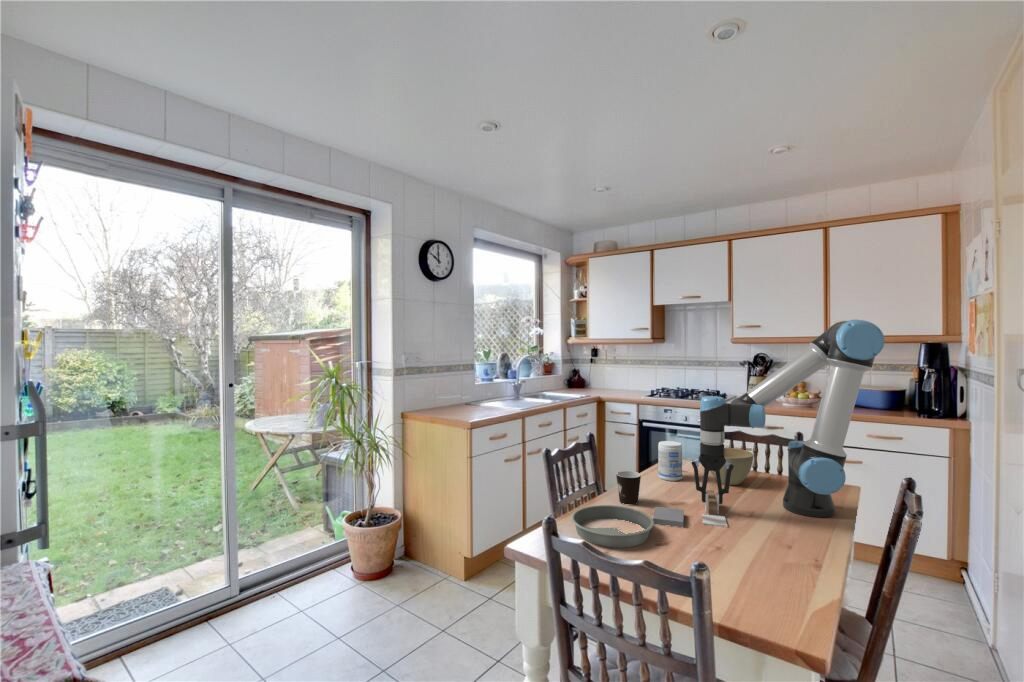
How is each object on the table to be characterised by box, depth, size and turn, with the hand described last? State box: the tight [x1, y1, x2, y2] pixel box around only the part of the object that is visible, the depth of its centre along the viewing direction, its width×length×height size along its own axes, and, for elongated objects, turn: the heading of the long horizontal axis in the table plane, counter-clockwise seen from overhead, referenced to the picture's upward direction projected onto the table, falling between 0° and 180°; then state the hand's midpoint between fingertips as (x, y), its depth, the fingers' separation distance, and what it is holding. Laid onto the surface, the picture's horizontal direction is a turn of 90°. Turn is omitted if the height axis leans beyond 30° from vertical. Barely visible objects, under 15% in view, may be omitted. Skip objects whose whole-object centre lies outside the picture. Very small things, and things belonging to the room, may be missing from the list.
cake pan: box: [570, 504, 655, 548], centre depth 146 cm, size 25×25×4 cm
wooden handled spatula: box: [701, 489, 728, 528], centre depth 159 cm, size 20×7×5 cm, turn 162°
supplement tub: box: [657, 440, 683, 482], centre depth 200 cm, size 10×10×15 cm
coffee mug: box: [615, 470, 642, 505], centre depth 173 cm, size 12×9×10 cm
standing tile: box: [652, 506, 685, 528], centre depth 155 cm, size 2×9×11 cm
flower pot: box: [710, 447, 754, 486], centre depth 193 cm, size 18×18×12 cm
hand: (711, 512), depth 161 cm, fingers open, 3 cm apart
